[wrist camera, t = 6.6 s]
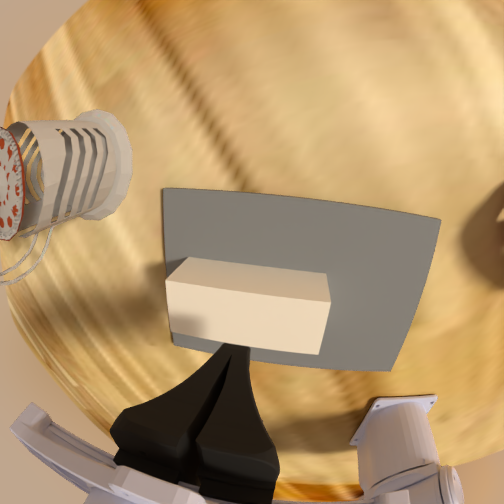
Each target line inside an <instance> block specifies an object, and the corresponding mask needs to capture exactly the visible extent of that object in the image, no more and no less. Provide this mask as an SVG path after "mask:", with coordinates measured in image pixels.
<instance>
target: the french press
mask: <svg viewBox="0 0 504 504" xmlns="http://www.w3.org/2000/svg"><path fill="white" fill-rule="evenodd" d="M27 128H30V129H31V132H30V133H29V135H28V137H27V138H26V140H25V141H24V143H23V145H22V146H21V148H20V147H19V145H18V142H19V141H20V139H21V137H22V136H23V134H24V132H25V130H26V129H27ZM60 129H62V130H63V131H62V132H61V134H60V133H59V132H58V131H59V130H60ZM34 135H35V137H36V141H35V142H34V144H33V145H32V147H31V149H30V150H29V152H28V154H27V156H26V158H25V160H24V162H23V160H22V155H23V153H24V151H25V149H26V148H27V146H28V145H29V143H30V141H31V140H32V138H33V137H34ZM38 145H39V149H40V151H39V152H38V154H37V156H36V158H35V160H34V162H33V164H32V168H31V177H30V179H31V182H32V185H33V187H34V190H35V192H36V193H37V195H38V196H39V197H40V199H41V200H39V201H36V199H35V198H34V197H33V196H32V195H31V193H30V191H29V188H28V186H27V183H26V170H27V165H28V163H29V161H30V159H31V157H32V155H33V153H34V151H35V150H36V148H37V147H38ZM41 157H42V161H43V162H42V169H41V178H42V181H43V184H44V187H45V188H44V193H43V192H42V191H41V189H40V187H39V184H38V181H37V178H36V174H37V165H38V162H39V160H40V158H41ZM131 177H132V148H131V145H130V142H129V139H128V136H127V133H126V130H125V127H124V126H123V125H122V124H121V123H120V122H119V121H118V120H117V119H116V117H115V116H114V115H113V114H111V113H108V112H105V111H102V110H98V109H96V110H92V111H88V112H84V113H81V114H80V115H79V116H78V117H77V118H75V119H74V120H40V121H19V122H16V123H13V124H11V125H10V126H9V127H8V128H7V129H4V128H2V127H0V240H6V241H10V240H11V239H12V238H13V237H14V236H15V235H16V233H17V232H19V231H21V230H23V229H26V228H28V227H30V226H33V225H35V224H37V226H36V227H35V229H34V230H32V231H30V232H27V233H25V234H23V235H21V236H19V237H24V238H26V237H28V236H31V235H33V234H35V236H34V239H33V242H32V244H31V246H30V249H29V250H28V252H27V253H26V254H25V255H24V257H23V258H22V259H21V260H20V261H19V262H18V263H16V264H15V265H14V266H13V267H11V268H9V269H7V270H5V271H3V272H1V273H0V276H3V275H5V274H6V273H8V272H10V271H12V270H14V269H16V268H17V267H18V266H19V265H20V264H21V263H22V262H23V261H24V259H25V258H26V257H27V256H28V255H29V254H30V252H31V251H32V249H33V246H34V244H35V242H36V240H37V236H38V233H39V232H40V231H42V230H44V229H47V228H49V227H51V228H50V231H49V234H48V237H47V241H46V244H45V247H44V249H43V251H42V254H41V256H40V258H39V259H38V260H37V262H36V263H35V264H34V265H33V266H32V267H31V268H30V269H29V270H28V271H26V272H25V273H24V274H22V275H21V276H19V277H17V278H16V279H14V280H11V281H0V285H10V284H14V283H16V282H18V281H19V280H21V279H22V278H24V277H25V276H27V275H28V274H30V273H31V271H32V270H33V269H34V268H35V267H36V266H37V265H38V263H39V262H40V261H41V260H42V258H43V256H44V254H45V252H46V250H47V248H48V245H49V241H50V238H51V234H52V231H53V228H54V227H55V226H56V225H59V224H61V223H63V222H66V221H68V220H70V219H73V218H75V217H78V216H80V217H81V218H83V219H85V220H101V219H103V218H105V217H107V216H108V215H110V214H112V213H114V212H115V211H116V209H117V208H118V206H119V205H120V204H121V202H122V201H123V199H124V198H125V197H126V194H127V190H128V187H129V183H130V180H131ZM25 196H26V198H27V199H28V200H29V202H30V203H29V204H25ZM69 211H71V213H70V215H69V216H66V217H65V213H66V212H69ZM56 216H58V219H57V220H56V221H54V222H51V220H52V218H53V217H56Z"/></svg>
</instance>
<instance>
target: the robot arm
mask: <svg viewBox="0 0 504 504" xmlns="http://www.w3.org/2000/svg"><path fill="white" fill-rule="evenodd" d="M250 352H251V349H250V347H248V346H242V345H235V344H230V343H223V344H222V345H221V347H220V348H219V349H218V350H217V351H216V352H215V353H214V355H213V356H212V357H211V358H210V359H209V360H208V361H207V362H206V363H205V364H204V365H203V366H202V367H200V368H199V369H198V370H197V371H196V372H195V373H193V374H192V375H191V376H190V377H189V378H187V379H186V380H185V381H183V382H182V383H180V384H179V385H177V386H176V387H174V388H173V389H171V390H169V391H168V392H166V393H164V394H162V395H160V396H158V397H156V398H154V399H152V400H149V401H147V402H145V403H142V404H139V405H136V406H133V407H130V408H126V409H124V410H123V411H122V412H121V414H120V415H119V416H118V417H117V419H116V420H115V422H114V423H113V425H112V427H111V428H110V434H111V436H112V438H113V439H114V441H115V443H116V444H117V446H118V447H119V450H118V452H117V453H116V455H115V456H113V455H111V454H109V453H107V452H105V451H103V450H101V449H99V448H97V447H95V446H93V445H91V444H89V443H88V442H86V441H84V440H82V439H80V438H79V437H77V436H75V435H74V434H72V433H70V432H69V431H67V430H65V429H64V428H62V427H60V426H59V425H58V424H56V423H54V422H53V421H52V419H51V418H50V416H49V415H48V414H47V413H46V412H45V411H44V410H43V409H41V408H40V407H38V406H37V405H35V404H34V403H33V402H31V403H30V404H29V405H28V407H27V408H26V409H25V410H24V411H23V412H22V413H21V415H20V416H19V417H18V418H17V419H16V421H15V422H14V423H13V424H12V425H11V427H10V430H11V431H12V432H13V434H14V435H15V436H16V437H17V438H18V439H19V440H20V442H22V444H23V445H24V446H25V447H26V448H27V449H28V450H29V451H30V452H31V453H32V454H33V455H35V456H36V457H37V458H38V459H40V460H41V461H42V462H43V463H45V464H46V465H47V466H49V467H50V468H51V469H53V470H54V471H55V472H57V473H58V474H59V475H61V476H62V477H64V478H65V479H66V480H68V481H69V482H71V483H73V484H74V485H75V486H77V487H78V488H80V489H81V490H83V491H85V492H86V493H88V494H89V495H88V497H87V499H86V501H85V502H84V504H464V495H463V490H462V486H461V482H460V479H459V476H458V474H457V472H456V470H455V468H454V467H451V466H449V465H445V466H443V467H442V466H441V465H440V461H439V457H438V453H437V449H436V445H435V442H434V438H433V434H432V431H431V428H430V424H429V421H428V418H427V413H428V412H429V410H430V409H431V408H432V406H433V405H434V403H435V402H436V401H437V399H438V396H437V395H426V396H413V397H392V398H377V399H376V400H375V401H374V402H373V404H372V406H371V408H370V410H369V411H368V413H367V415H366V416H365V418H364V420H363V421H362V423H361V425H360V426H359V428H358V430H357V431H356V433H355V434H354V436H353V437H352V439H351V440H350V445H357V454H358V471H359V483H360V486H361V488H362V489H363V491H364V499H362V500H360V501H348V502H293V501H279V500H272V499H273V493H274V490H275V485H276V480H277V478H278V476H279V473H280V465H279V460H278V456H277V452H276V448H275V445H274V444H273V442H272V440H271V439H270V437H269V435H268V433H267V431H266V429H265V427H264V425H263V422H262V420H261V417H260V415H259V412H258V409H257V406H256V403H255V400H254V396H253V392H252V387H251V381H250V373H249V365H250ZM200 484H201V485H200Z"/></svg>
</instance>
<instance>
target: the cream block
mask: <svg viewBox="0 0 504 504" xmlns="http://www.w3.org/2000/svg"><path fill="white" fill-rule="evenodd" d="M165 283H166V295H167V305H168V314H169V323H170V331H171V332H175V333H180V334H184V335H189V336H194V337H199V338H204V339H209V340H214V341H220V342H225V343H231V344H237V345H243V346H249V347H256V348H263V349H270V350H278V351H286V352H295V353H304V354H314V355H318V354H319V350H320V346H321V343H322V339H323V335H324V331H325V327H326V323H327V318H328V314H329V310H330V305H331V299H330V293H329V287H328V281H327V276H326V274H325V273H317V272H308V271H299V270H291V269H282V268H274V267H265V266H257V265H249V264H241V263H233V262H225V261H217V260H209V259H201V258H193V257H188V258H187V259H186V260H185V261H184V262H183V263H182V264H181V265H180V266H179V267H178V268H177V269H176V270H175V271H174V272H173V273H172V274H171V275H170V276H169V277H168V278H167V279H166V280H165Z"/></svg>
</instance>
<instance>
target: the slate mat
mask: <svg viewBox="0 0 504 504" xmlns="http://www.w3.org/2000/svg"><path fill="white" fill-rule="evenodd" d="M163 209H164V239H165V258H166V273H167V278H168V277H169V276H170V275H171V274H172V273H173V272H174V271H175V270H176V269H177V268H178V267H179V266H180V265H181V264H182V263H183V262H184V261H185V260H186V259H187V258H188V257H193V258H201V259H209V260H217V261H225V262H233V263H241V264H249V265H257V266H265V267H274V268H282V269H291V270H299V271H308V272H317V273H325V274H326V276H327V281H328V287H329V293H330V299H331V305H330V310H329V314H328V318H327V323H326V327H325V331H324V335H323V339H322V343H321V346H320V350H319V354H318V355H314V354H304V353H295V352H286V351H278V350H270V349H263V348H256V347H250V349H251V352H250V360H253V361H259V362H266V363H274V364H282V365H290V366H299V367H310V368H321V369H335V370H352V371H391V369H392V367H393V365H394V363H395V361H396V359H397V356H398V354H399V352H400V350H401V347H402V345H403V343H404V340H405V338H406V336H407V333H408V331H409V328H410V326H411V323H412V320H413V318H414V315H415V312H416V310H417V307H418V304H419V301H420V298H421V295H422V292H423V289H424V286H425V283H426V279H427V276H428V273H429V269H430V266H431V262H432V258H433V254H434V251H435V247H436V242H437V238H438V234H439V229H440V224H441V220H440V219H437V218H432V217H427V216H422V215H417V214H411V213H406V212H400V211H394V210H388V209H382V208H376V207H369V206H363V205H356V204H349V203H342V202H334V201H327V200H319V199H310V198H301V197H292V196H283V195H272V194H261V193H250V192H237V191H223V190H207V189H187V188H163ZM172 334H173V342H174V345H175V346H180V347H184V348H189V349H193V350H198V351H203V352H207V353H213V354H214V353H215V352H216V351H217V350H218V349H219V348H220V347H221V345H222V344H223V343H225V342H220V341H214V340H209V339H204V338H199V337H194V336H189V335H184V334H180V333H175V332H172ZM230 344H231V343H230ZM235 345H237V344H235ZM242 346H243V345H242ZM248 347H249V346H248Z"/></svg>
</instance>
